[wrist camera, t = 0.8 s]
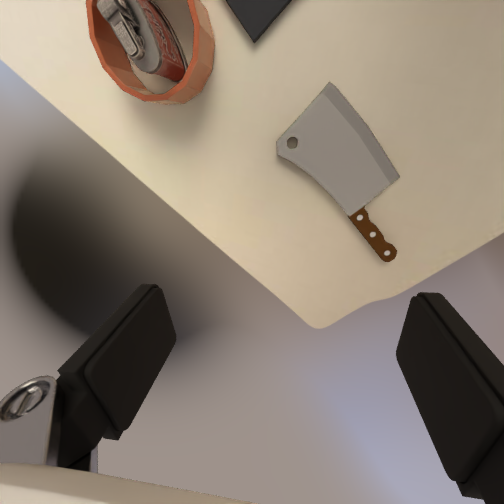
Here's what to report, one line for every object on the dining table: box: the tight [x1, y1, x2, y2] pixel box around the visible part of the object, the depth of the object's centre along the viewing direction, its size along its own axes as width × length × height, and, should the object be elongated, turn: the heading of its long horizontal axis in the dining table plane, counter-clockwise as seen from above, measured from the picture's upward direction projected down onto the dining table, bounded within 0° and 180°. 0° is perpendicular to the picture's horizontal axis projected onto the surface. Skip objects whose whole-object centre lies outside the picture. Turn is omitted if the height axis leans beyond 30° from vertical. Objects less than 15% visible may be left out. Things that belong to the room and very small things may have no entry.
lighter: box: [97, 0, 188, 84], centre depth 24 cm, size 8×3×10 cm, turn 27°
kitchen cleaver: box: [277, 82, 400, 262], centre depth 32 cm, size 24×1×10 cm
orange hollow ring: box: [86, 0, 215, 105], centre depth 26 cm, size 12×12×5 cm
